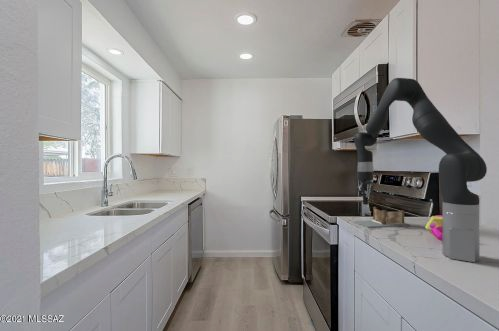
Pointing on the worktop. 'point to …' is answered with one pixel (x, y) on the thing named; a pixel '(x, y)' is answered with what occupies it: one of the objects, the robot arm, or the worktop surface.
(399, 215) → the fence fixed
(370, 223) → the mat
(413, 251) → the worktop surface
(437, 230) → the toy
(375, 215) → the fence gate
